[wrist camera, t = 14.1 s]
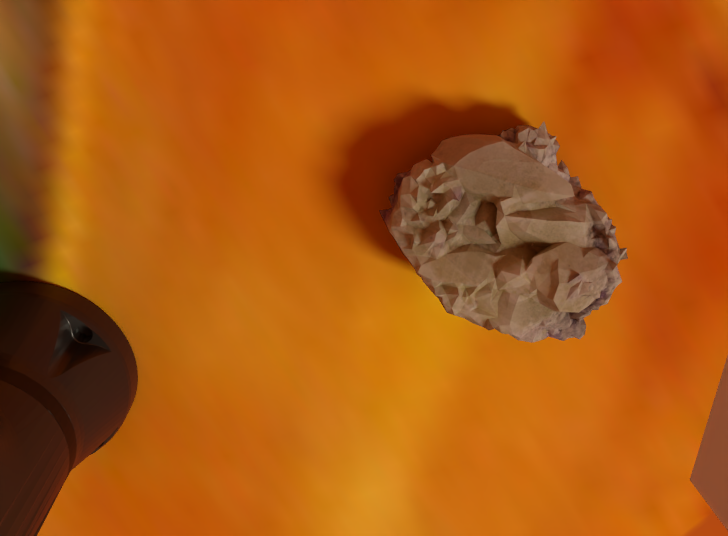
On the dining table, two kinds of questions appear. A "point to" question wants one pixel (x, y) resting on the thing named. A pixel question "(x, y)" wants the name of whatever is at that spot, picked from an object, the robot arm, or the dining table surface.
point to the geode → (506, 234)
